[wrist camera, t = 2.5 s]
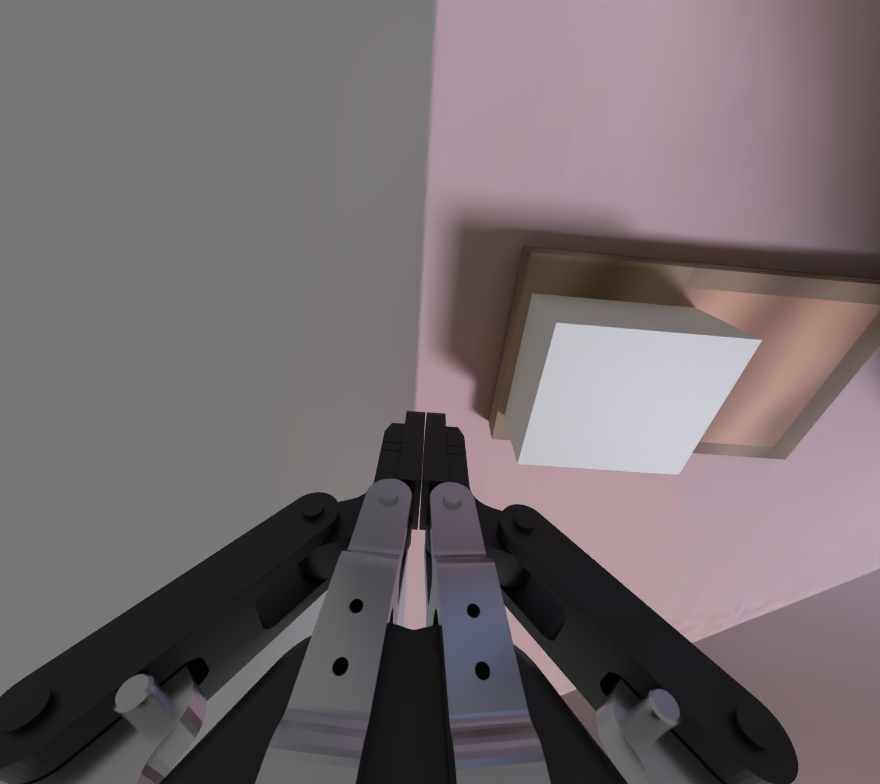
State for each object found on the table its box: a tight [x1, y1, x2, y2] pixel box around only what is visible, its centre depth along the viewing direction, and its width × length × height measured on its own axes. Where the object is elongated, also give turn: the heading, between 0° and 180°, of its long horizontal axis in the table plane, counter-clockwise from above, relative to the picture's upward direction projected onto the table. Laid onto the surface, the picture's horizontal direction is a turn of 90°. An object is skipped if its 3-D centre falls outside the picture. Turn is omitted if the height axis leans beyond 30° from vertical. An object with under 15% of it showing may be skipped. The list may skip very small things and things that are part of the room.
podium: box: [489, 246, 880, 459], centre depth 21 cm, size 21×12×2 cm, turn 85°
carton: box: [505, 293, 762, 475], centre depth 18 cm, size 9×8×4 cm
